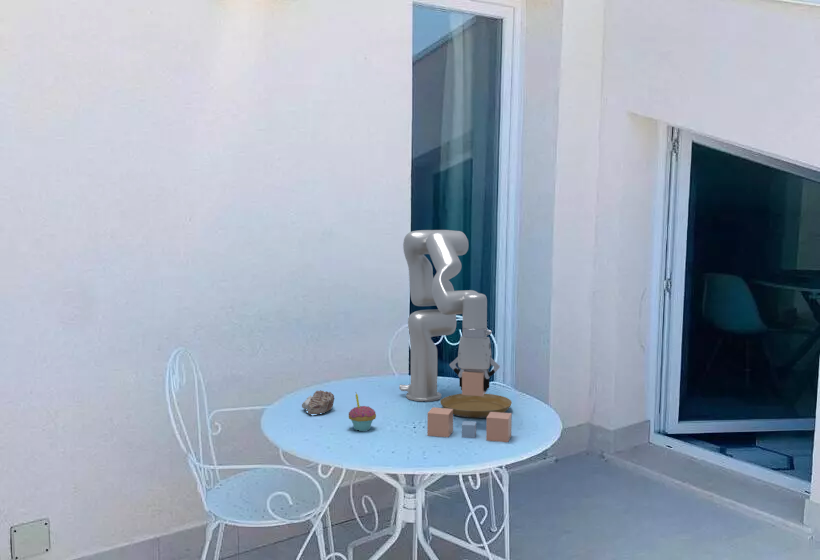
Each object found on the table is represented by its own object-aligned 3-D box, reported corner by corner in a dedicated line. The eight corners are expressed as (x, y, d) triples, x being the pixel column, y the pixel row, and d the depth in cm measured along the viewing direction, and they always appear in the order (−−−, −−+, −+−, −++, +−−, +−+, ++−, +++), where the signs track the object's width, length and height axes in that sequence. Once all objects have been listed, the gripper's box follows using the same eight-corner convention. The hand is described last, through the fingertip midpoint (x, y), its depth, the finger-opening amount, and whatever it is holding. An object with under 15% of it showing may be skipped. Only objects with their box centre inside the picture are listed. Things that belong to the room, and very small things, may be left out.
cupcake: (355, 434, 240) (354, 395, 239) (344, 427, 247) (343, 389, 246) (380, 430, 244) (380, 392, 243) (369, 423, 251) (368, 386, 250)
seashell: (304, 396, 274) (318, 374, 271) (328, 410, 275) (342, 388, 272) (296, 415, 260) (310, 392, 257) (320, 429, 261) (335, 406, 258)
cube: (461, 437, 237) (461, 424, 237) (462, 433, 241) (463, 421, 241) (474, 438, 236) (475, 425, 236) (476, 434, 240) (476, 421, 240)
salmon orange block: (486, 440, 234) (486, 417, 233) (490, 434, 240) (490, 411, 240) (508, 442, 232) (508, 419, 232) (511, 435, 239) (511, 413, 238)
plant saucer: (430, 404, 275) (430, 395, 275) (492, 399, 283) (493, 390, 282) (456, 423, 252) (456, 413, 252) (524, 416, 260) (524, 407, 260)
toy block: (466, 390, 251) (466, 368, 250) (486, 391, 249) (486, 369, 248) (461, 394, 244) (462, 372, 244) (482, 396, 243) (482, 373, 242)
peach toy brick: (427, 435, 239) (427, 412, 238) (432, 429, 245) (432, 407, 244) (448, 437, 237) (448, 414, 236) (453, 431, 243) (453, 408, 243)
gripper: (504, 332, 246) (503, 388, 248) (449, 330, 251) (449, 385, 252) (500, 336, 239) (500, 394, 241) (444, 334, 243) (444, 391, 245)
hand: (474, 389), depth 246 cm, fingers closed on toy block, 6 cm apart
